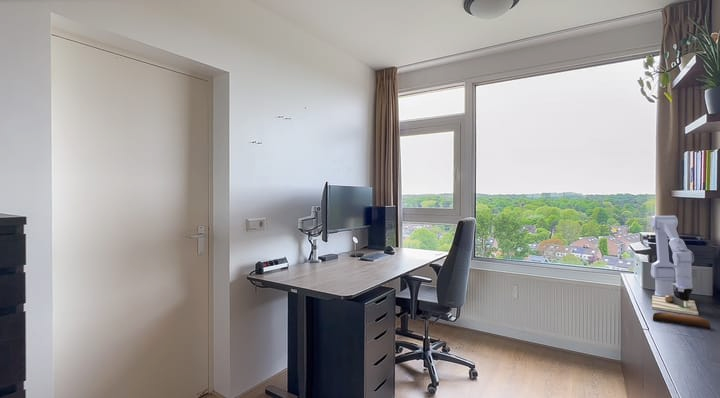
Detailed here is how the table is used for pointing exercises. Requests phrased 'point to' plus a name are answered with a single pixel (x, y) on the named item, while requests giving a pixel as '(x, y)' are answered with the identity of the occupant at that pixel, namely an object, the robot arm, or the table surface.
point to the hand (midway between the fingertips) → (684, 303)
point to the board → (673, 306)
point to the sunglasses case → (681, 319)
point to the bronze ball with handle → (676, 300)
